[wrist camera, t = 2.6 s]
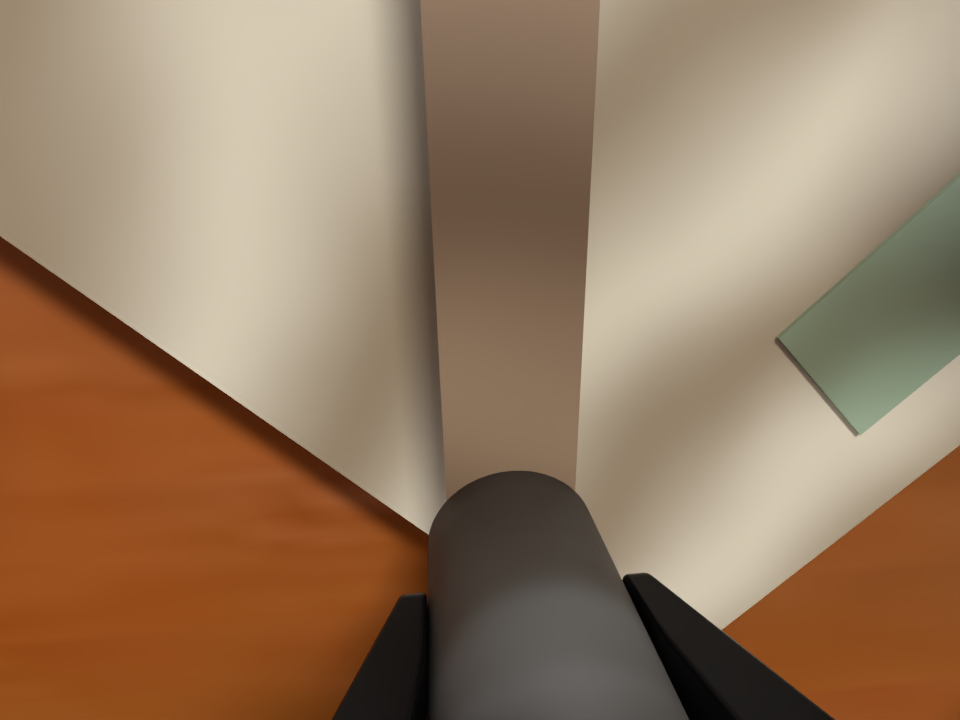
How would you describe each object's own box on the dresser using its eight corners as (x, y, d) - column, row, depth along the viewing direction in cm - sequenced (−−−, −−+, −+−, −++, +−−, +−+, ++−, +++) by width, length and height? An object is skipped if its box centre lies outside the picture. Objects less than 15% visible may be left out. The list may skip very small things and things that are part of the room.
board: (1167, 207, 12) (1267, 212, 11) (628, 642, 16) (648, 690, 14) (525, -1282, 6) (561, -1818, 4) (-194, 45, 9) (-319, 18, 7)
